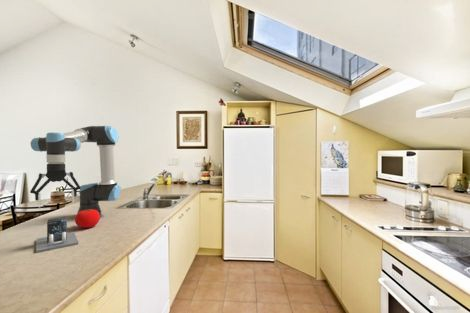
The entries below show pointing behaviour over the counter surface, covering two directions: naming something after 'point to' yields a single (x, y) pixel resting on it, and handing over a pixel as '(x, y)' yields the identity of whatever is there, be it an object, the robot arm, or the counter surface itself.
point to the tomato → (87, 218)
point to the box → (56, 228)
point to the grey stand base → (56, 242)
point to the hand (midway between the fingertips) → (57, 204)
